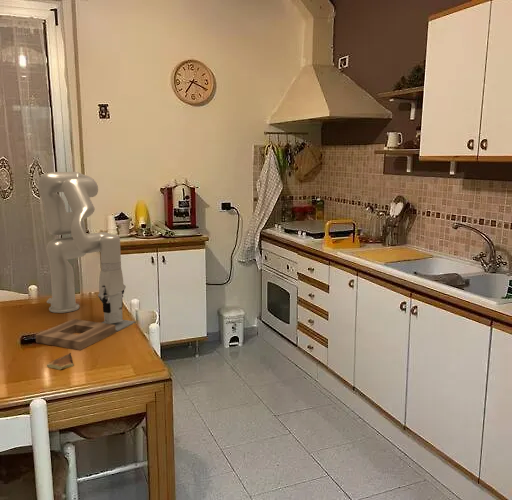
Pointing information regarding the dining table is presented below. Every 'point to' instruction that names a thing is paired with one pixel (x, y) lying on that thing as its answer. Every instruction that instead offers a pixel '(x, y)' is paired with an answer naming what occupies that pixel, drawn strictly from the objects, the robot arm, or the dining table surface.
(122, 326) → the grey mat
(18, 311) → the dining table surface
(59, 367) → the shard
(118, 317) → the skincare box
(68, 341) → the walnut holder
